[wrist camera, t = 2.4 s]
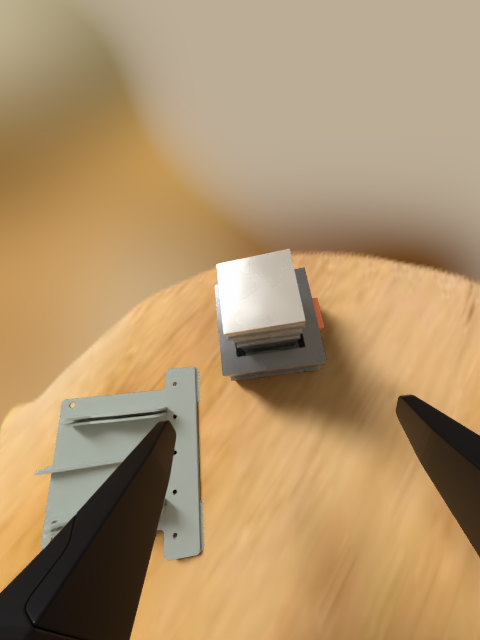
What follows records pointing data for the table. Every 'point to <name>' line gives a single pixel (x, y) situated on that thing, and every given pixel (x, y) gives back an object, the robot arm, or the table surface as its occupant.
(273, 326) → the column
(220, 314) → the collar
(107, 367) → the table surface
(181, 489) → the metal bracket
